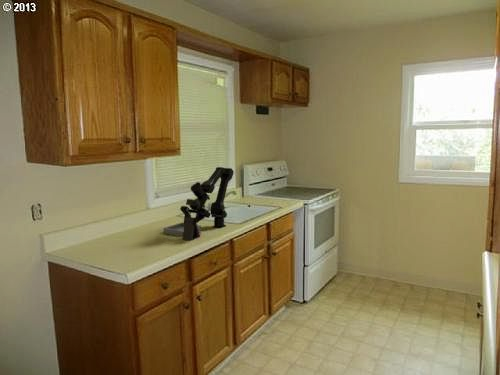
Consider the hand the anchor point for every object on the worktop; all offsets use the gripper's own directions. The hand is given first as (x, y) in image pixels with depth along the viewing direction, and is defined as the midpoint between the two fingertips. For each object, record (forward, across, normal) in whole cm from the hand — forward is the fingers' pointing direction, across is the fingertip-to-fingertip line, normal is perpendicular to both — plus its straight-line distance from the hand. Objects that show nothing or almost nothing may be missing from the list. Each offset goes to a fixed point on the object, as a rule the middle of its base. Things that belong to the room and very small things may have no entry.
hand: (188, 224), depth 206 cm
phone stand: (+5, 0, +8) cm, 9 cm away
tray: (-1, -14, +13) cm, 19 cm away
